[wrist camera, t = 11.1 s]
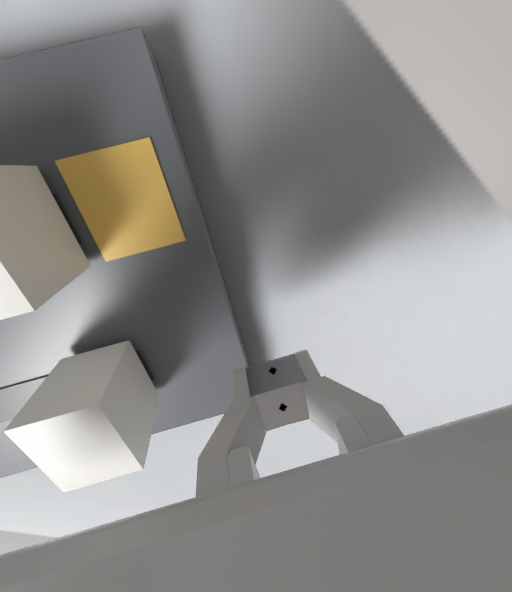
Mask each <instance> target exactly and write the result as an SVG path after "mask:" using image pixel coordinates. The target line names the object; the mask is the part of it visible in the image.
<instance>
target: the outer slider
mask: <svg viewBox="0 0 512 592" xmlns="http://www.w3.org/2000/svg"><path fill="white" fill-rule="evenodd" d="M159 398H160V396H159V394H158V392H157V390H156V388H155V387H154V385H153V383H152V381H151V379H150V377H149V376H148V374H147V372H146V370H145V368H144V366H143V364H142V363H141V361H140V359H139V357H138V355H137V353H136V352H135V350H134V348H133V346H132V344H131V342H130V340H128V341H124V342H121V343H117V344H114V345H110V346H106V347H103V348H99V349H95V350H92V351H88V352H84V353H81V354H77V355H74V356H70V357H66V358H63V359H61V360H60V361H59V362H58V364H57V365H56V366H55V367H54V369H53V370H52V371H51V372H50V374H49V375H48V376H47V377H46V379H45V380H44V381H43V382H42V384H41V385H40V386H39V387H38V389H37V390H36V391H35V392H34V394H33V395H32V396H31V397H30V399H29V400H28V401H27V403H26V404H25V405H24V406H23V408H22V409H21V410H20V411H19V413H18V414H17V415H16V416H15V418H14V419H13V420H12V421H11V423H10V424H9V425H8V426H7V428H6V429H5V430H4V431H3V432H4V433H5V434H6V435H7V436H8V437H9V438H10V439H11V440H12V441H13V442H14V443H15V444H16V445H17V446H18V447H19V448H20V449H21V450H22V451H23V452H24V453H25V454H26V455H27V456H28V457H29V458H30V459H31V460H32V461H33V462H34V463H35V464H36V465H37V466H38V467H39V468H40V469H41V470H42V471H43V472H44V473H45V474H46V475H47V476H48V477H49V478H50V479H51V480H52V481H53V482H54V483H55V484H56V485H57V486H58V487H59V488H60V489H61V490H62V491H63V492H68V491H71V490H74V489H78V488H81V487H85V486H88V485H92V484H95V483H98V482H102V481H105V480H109V479H112V478H116V477H119V476H122V475H126V474H129V473H133V472H136V471H140V470H143V468H144V464H145V460H146V455H147V451H148V446H149V442H150V438H151V433H152V429H153V425H154V420H155V416H156V412H157V407H158V403H159Z"/></svg>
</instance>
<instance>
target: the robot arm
mask: <svg viewBox="0 0 512 592" xmlns="http://www.w3.org/2000/svg"><path fill="white" fill-rule="evenodd" d="M232 374H233V384H234V395H235V402H232V403H231V404H230V406H229V407H228V409H227V411H226V412H225V414H224V416H223V418H222V419H221V421H220V423H219V424H218V426H217V428H216V429H215V431H214V433H213V434H212V436H211V438H210V439H209V441H208V443H207V444H206V446H205V448H204V449H203V451H202V453H201V454H200V456H199V458H198V468H197V485H196V497H195V498H192V499H188V500H185V501H182V502H178V503H175V504H171V505H168V506H165V507H161V508H158V509H154V510H151V511H148V512H144V513H141V514H137V515H134V516H131V517H127V518H124V519H120V520H117V521H114V522H110V523H107V524H103V525H100V526H97V527H93V528H90V529H86V530H83V531H80V532H76V533H73V534H69V535H66V536H63V537H59V538H56V539H53V540H49V541H46V542H42V543H39V544H36V545H32V546H29V547H25V548H22V549H19V550H15V551H12V552H8V553H5V554H2V555H0V592H512V404H511V405H508V406H505V407H501V408H498V409H494V410H491V411H488V412H484V413H481V414H477V415H474V416H471V417H467V418H464V419H460V420H457V421H454V422H450V423H447V424H443V425H440V426H436V427H433V428H430V429H426V430H423V431H419V432H416V433H413V434H409V435H406V436H404V435H403V433H402V432H401V430H400V429H399V428H398V426H397V425H396V424H395V422H394V421H393V419H392V418H391V417H390V415H389V414H388V412H387V411H386V410H385V408H384V407H383V405H381V404H379V403H377V402H375V401H373V400H371V399H369V398H367V397H365V396H363V395H361V394H359V393H357V392H355V391H353V390H351V389H349V388H347V387H345V386H343V385H341V384H339V383H337V382H335V381H334V380H332V379H330V378H328V377H326V376H323V377H321V376H320V374H319V372H318V370H317V368H316V366H315V365H314V363H313V361H312V359H311V357H310V355H309V353H308V351H307V350H302V351H299V352H296V353H294V354H290V355H287V356H283V357H280V358H276V359H273V360H269V361H265V362H261V363H257V364H253V365H249V366H246V367H242V368H239V369H235V370H233V372H232ZM307 419H310V420H311V421H312V422H313V423H314V424H316V425H317V426H318V427H319V428H320V429H322V430H323V431H324V432H325V433H327V434H328V435H329V436H330V437H331V438H333V439H334V440H335V441H336V442H337V443H338V446H339V454H340V455H338V456H335V457H331V458H328V459H324V460H321V461H318V462H314V463H311V464H307V465H304V466H301V467H297V468H294V469H290V470H287V471H284V472H280V473H277V474H273V475H270V476H267V477H263V478H260V476H259V473H258V471H257V468H256V465H255V464H256V461H257V458H258V455H259V452H260V449H261V446H262V443H263V440H264V437H265V434H266V431H269V430H272V429H275V428H278V427H281V426H284V425H287V424H291V423H295V422H299V421H303V420H307Z"/></svg>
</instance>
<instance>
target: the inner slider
mask: <svg viewBox="0 0 512 592" xmlns="http://www.w3.org/2000/svg"><path fill="white" fill-rule="evenodd" d="M89 267H90V264H89V262H88V260H87V258H86V256H85V254H84V253H83V251H82V249H81V247H80V245H79V243H78V241H77V240H76V238H75V236H74V234H73V232H72V230H71V228H70V227H69V225H68V223H67V221H66V219H65V217H64V216H63V214H62V212H61V210H60V208H59V206H58V204H57V203H56V201H55V199H54V197H53V195H52V193H51V191H50V190H49V188H48V186H47V184H46V182H45V180H44V178H43V177H42V175H41V173H40V171H39V169H38V167H37V166H25V165H0V320H3V319H6V318H10V317H14V316H17V315H21V314H25V313H29V312H32V311H35V310H36V309H38V308H39V307H40V306H41V305H43V304H44V303H45V302H46V301H48V300H49V299H50V298H51V297H53V296H54V295H55V294H56V293H58V292H59V291H60V290H61V289H63V288H64V287H65V286H66V285H68V284H69V283H70V282H71V281H73V280H74V279H75V278H76V277H78V276H79V275H80V274H81V273H83V272H84V271H85V270H86V269H88V268H89Z"/></svg>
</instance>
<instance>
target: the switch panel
mask: <svg viewBox="0 0 512 592" xmlns="http://www.w3.org/2000/svg"><path fill="white" fill-rule="evenodd" d="M0 165H25V166H37V167H38V169H39V171H40V173H41V175H42V177H43V178H44V180H45V182H46V184H47V186H48V188H49V190H50V191H51V193H52V195H53V197H54V199H55V201H56V203H57V204H58V206H59V208H60V210H61V212H62V214H63V216H64V217H65V219H66V221H67V223H68V225H69V227H70V228H71V230H72V232H73V234H74V236H75V238H76V240H77V241H78V243H79V245H80V247H81V249H82V251H83V253H84V254H85V256H86V258H87V260H88V262H89V264H90V267H89V268H88V269H86V270H85V271H84V272H83V273H81V274H80V275H79V276H78V277H76V278H75V279H74V280H73V281H71V282H70V283H69V284H68V285H66V286H65V287H64V288H63V289H61V290H60V291H59V292H58V293H56V294H55V295H54V296H53V297H51V298H50V299H49V300H48V301H46V302H45V303H44V304H43V305H41V306H40V307H39V308H38V309H36V310H35V311H32V312H29V313H25V314H21V315H17V316H14V317H10V318H6V319H3V320H0V478H2V477H5V476H9V475H12V474H16V473H19V472H23V471H26V470H30V469H33V468H36V467H38V466H37V465H36V464H35V463H34V462H33V461H32V460H31V459H30V458H29V457H28V456H27V455H26V454H25V453H24V452H23V451H22V450H21V449H20V448H19V447H18V446H17V445H16V444H15V443H14V442H13V441H12V440H11V439H10V438H9V437H8V436H7V435H6V434H5V433H4V432H3V431H4V430H5V429H6V428H7V426H8V425H9V424H10V423H11V421H12V420H13V419H14V418H15V416H16V415H17V414H18V413H19V411H20V410H21V409H22V408H23V406H24V405H25V404H26V403H27V401H28V400H29V399H30V397H31V396H32V395H33V394H34V392H35V391H36V390H37V389H38V387H39V386H40V385H41V384H42V382H43V381H44V380H45V379H46V377H47V376H48V375H49V374H50V372H51V371H52V370H53V369H54V367H55V366H56V365H57V364H58V362H59V361H60V360H61V359H63V358H66V357H70V356H74V355H77V354H81V353H84V352H88V351H92V350H95V349H99V348H103V347H106V346H110V345H114V344H117V343H121V342H124V341H128V340H130V342H131V344H132V346H133V348H134V350H135V352H136V353H137V355H138V357H139V359H140V361H141V363H142V364H143V366H144V368H145V370H146V372H147V374H148V376H149V377H150V379H151V381H152V383H153V385H154V387H155V388H156V390H157V392H158V394H159V396H160V398H159V403H158V407H157V412H156V416H155V420H154V425H153V429H152V433H151V434H155V433H158V432H162V431H165V430H168V429H172V428H175V427H179V426H182V425H186V424H189V423H193V422H196V421H200V420H203V419H207V418H210V417H214V416H217V415H221V414H224V413H225V412H226V411H227V409H228V407H229V406H230V404H231V403H232V402H235V395H234V384H233V374H232V372H233V370H235V369H239V368H242V367H246V366H249V362H248V358H247V355H246V352H245V349H244V345H243V342H242V339H241V336H240V332H239V329H238V326H237V323H236V319H235V316H234V313H233V310H232V306H231V303H230V300H229V297H228V294H227V290H226V287H225V284H224V281H223V277H222V274H221V271H220V268H219V264H218V261H217V258H216V255H215V251H214V248H213V245H212V242H211V238H210V235H209V232H208V229H207V225H206V222H205V219H204V216H203V212H202V209H201V206H200V203H199V200H198V196H197V193H196V190H195V187H194V183H193V180H192V177H191V174H190V170H189V167H188V164H187V161H186V157H185V154H184V151H183V148H182V144H181V141H180V138H179V135H178V131H177V128H176V125H175V122H174V118H173V115H172V112H171V109H170V106H169V102H168V99H167V96H166V93H165V89H164V86H163V83H162V80H161V76H160V73H159V70H158V67H157V63H156V60H155V57H154V54H153V52H152V50H151V48H150V46H149V44H148V42H147V40H146V38H145V36H144V34H143V32H142V30H141V28H140V27H138V28H134V29H129V30H125V31H121V32H117V33H112V34H108V35H104V36H100V37H95V38H91V39H87V40H83V41H78V42H74V43H70V44H66V45H61V46H57V47H53V48H49V49H44V50H40V51H36V52H32V53H27V54H23V55H19V56H15V57H10V58H6V59H2V60H0Z"/></svg>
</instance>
